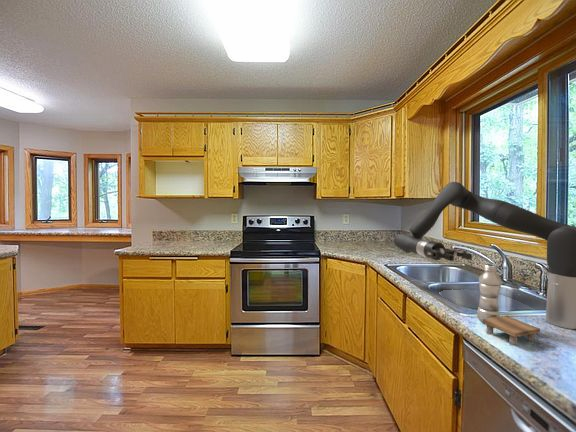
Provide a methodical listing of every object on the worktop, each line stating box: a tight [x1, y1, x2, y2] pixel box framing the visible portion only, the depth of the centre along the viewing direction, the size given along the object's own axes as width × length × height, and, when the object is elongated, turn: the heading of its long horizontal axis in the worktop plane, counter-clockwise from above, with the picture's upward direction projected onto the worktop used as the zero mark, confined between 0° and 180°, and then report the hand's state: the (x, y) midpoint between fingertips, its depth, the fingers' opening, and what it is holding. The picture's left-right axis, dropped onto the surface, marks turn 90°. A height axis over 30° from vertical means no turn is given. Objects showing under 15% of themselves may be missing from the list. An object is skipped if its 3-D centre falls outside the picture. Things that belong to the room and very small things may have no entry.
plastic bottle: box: [476, 263, 502, 323], centre depth 100 cm, size 6×7×20 cm
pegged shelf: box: [482, 315, 541, 347], centre depth 90 cm, size 10×10×4 cm
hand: (462, 257), depth 110 cm, fingers open, 8 cm apart
